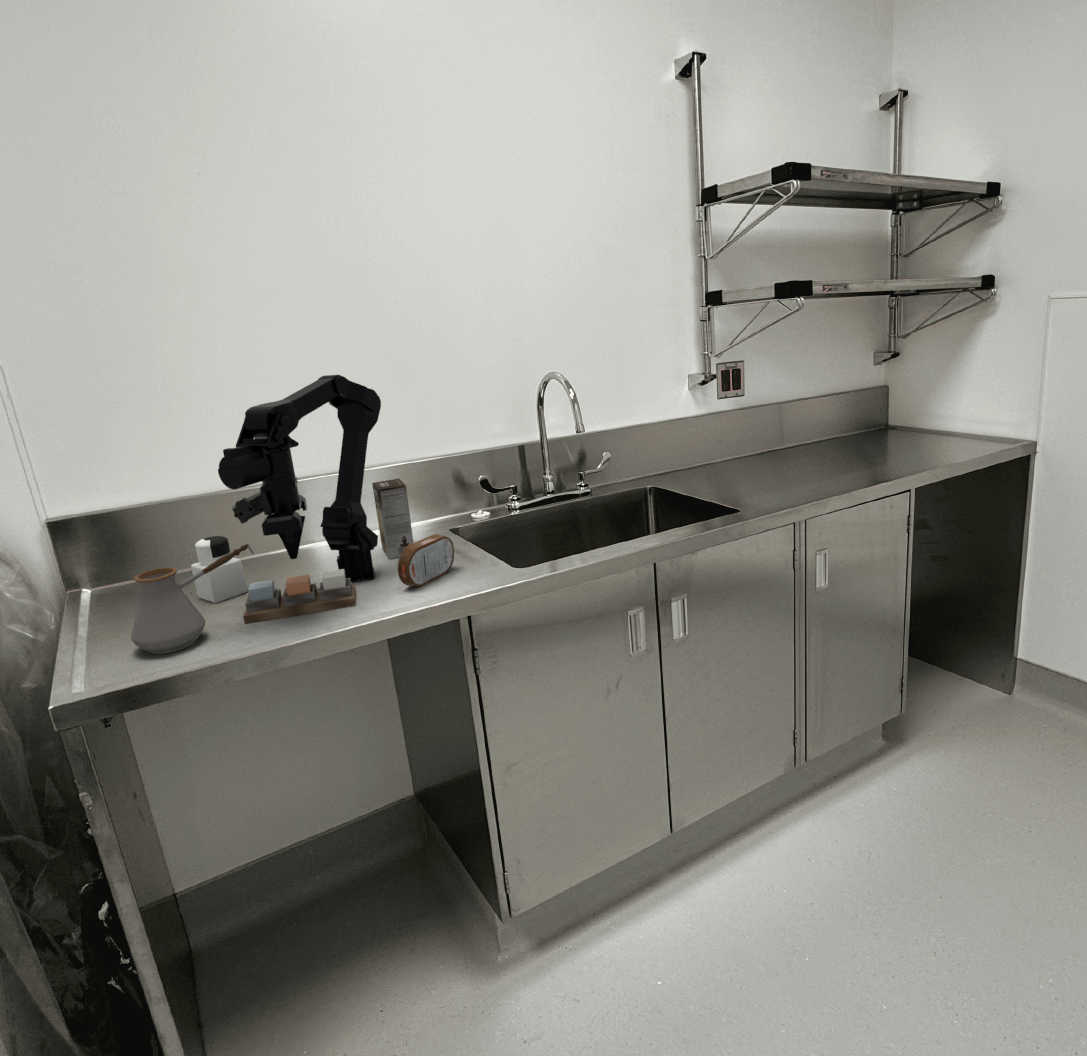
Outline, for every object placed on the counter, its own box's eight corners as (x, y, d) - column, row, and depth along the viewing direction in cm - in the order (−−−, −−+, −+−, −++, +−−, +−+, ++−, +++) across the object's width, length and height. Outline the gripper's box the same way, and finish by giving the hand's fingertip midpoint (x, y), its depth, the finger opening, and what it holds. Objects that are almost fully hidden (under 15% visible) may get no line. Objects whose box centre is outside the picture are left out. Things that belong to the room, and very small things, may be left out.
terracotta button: (311, 589, 140) (309, 574, 139) (310, 596, 136) (307, 580, 135) (289, 592, 139) (287, 577, 138) (288, 599, 135) (285, 584, 134)
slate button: (276, 594, 138) (273, 579, 138) (274, 601, 135) (271, 586, 134) (253, 598, 138) (250, 583, 137) (251, 605, 134) (247, 590, 133)
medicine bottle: (230, 586, 154) (219, 531, 150) (248, 592, 149) (236, 535, 146) (197, 597, 148) (184, 541, 145) (214, 604, 144) (201, 545, 141)
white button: (346, 583, 141) (344, 568, 140) (346, 590, 137) (344, 575, 137) (325, 586, 140) (322, 572, 139) (324, 593, 137) (321, 578, 136)
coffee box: (381, 549, 171) (371, 482, 166) (408, 544, 173) (399, 477, 169) (388, 559, 162) (377, 489, 158) (416, 554, 165) (407, 484, 160)
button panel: (355, 590, 144) (352, 575, 143) (355, 605, 136) (352, 588, 135) (250, 607, 140) (247, 591, 139) (244, 623, 132) (241, 606, 131)
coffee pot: (132, 665, 119) (109, 578, 114) (137, 640, 129) (116, 559, 125) (270, 633, 127) (254, 550, 123) (265, 612, 137) (249, 535, 133)
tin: (447, 567, 154) (442, 528, 152) (459, 568, 152) (454, 529, 150) (399, 591, 142) (393, 550, 140) (411, 593, 140) (405, 551, 138)
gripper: (238, 472, 138) (254, 551, 143) (222, 492, 121) (240, 581, 125) (299, 465, 141) (313, 542, 145) (292, 483, 123) (308, 571, 128)
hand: (294, 558), depth 136 cm, fingers closed
